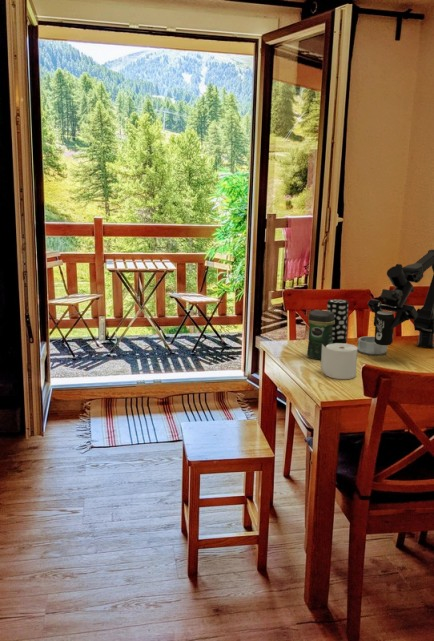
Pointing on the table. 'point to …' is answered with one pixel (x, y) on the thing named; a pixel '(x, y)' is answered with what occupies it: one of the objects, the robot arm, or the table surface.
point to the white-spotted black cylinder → (339, 319)
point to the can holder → (370, 346)
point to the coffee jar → (319, 332)
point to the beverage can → (384, 328)
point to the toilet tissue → (339, 360)
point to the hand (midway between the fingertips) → (382, 327)
